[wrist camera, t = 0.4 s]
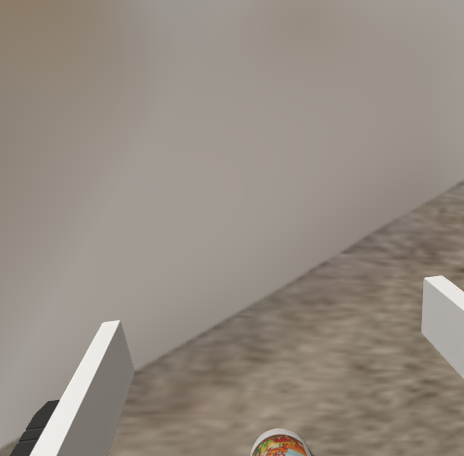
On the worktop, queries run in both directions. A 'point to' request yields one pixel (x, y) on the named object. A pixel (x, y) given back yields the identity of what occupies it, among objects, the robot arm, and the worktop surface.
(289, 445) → the milk bottle
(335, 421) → the worktop surface
